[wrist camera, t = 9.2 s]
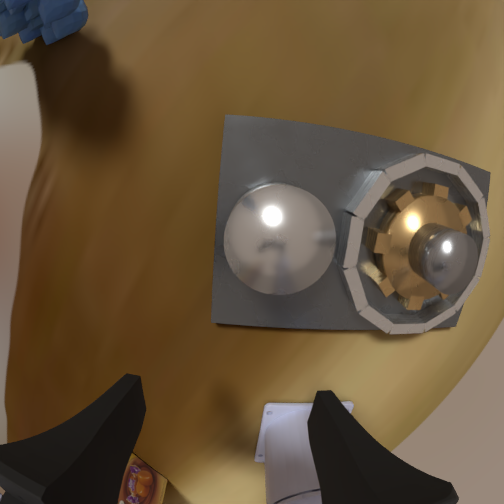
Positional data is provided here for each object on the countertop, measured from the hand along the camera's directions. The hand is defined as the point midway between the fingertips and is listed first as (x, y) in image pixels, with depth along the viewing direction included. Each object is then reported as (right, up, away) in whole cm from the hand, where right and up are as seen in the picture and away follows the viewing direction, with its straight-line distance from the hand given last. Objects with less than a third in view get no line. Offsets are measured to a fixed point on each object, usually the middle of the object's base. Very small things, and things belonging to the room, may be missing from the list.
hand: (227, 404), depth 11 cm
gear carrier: (+9, +7, +8) cm, 14 cm away
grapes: (-13, +24, +3) cm, 28 cm away
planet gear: (+12, +7, +7) cm, 16 cm away
